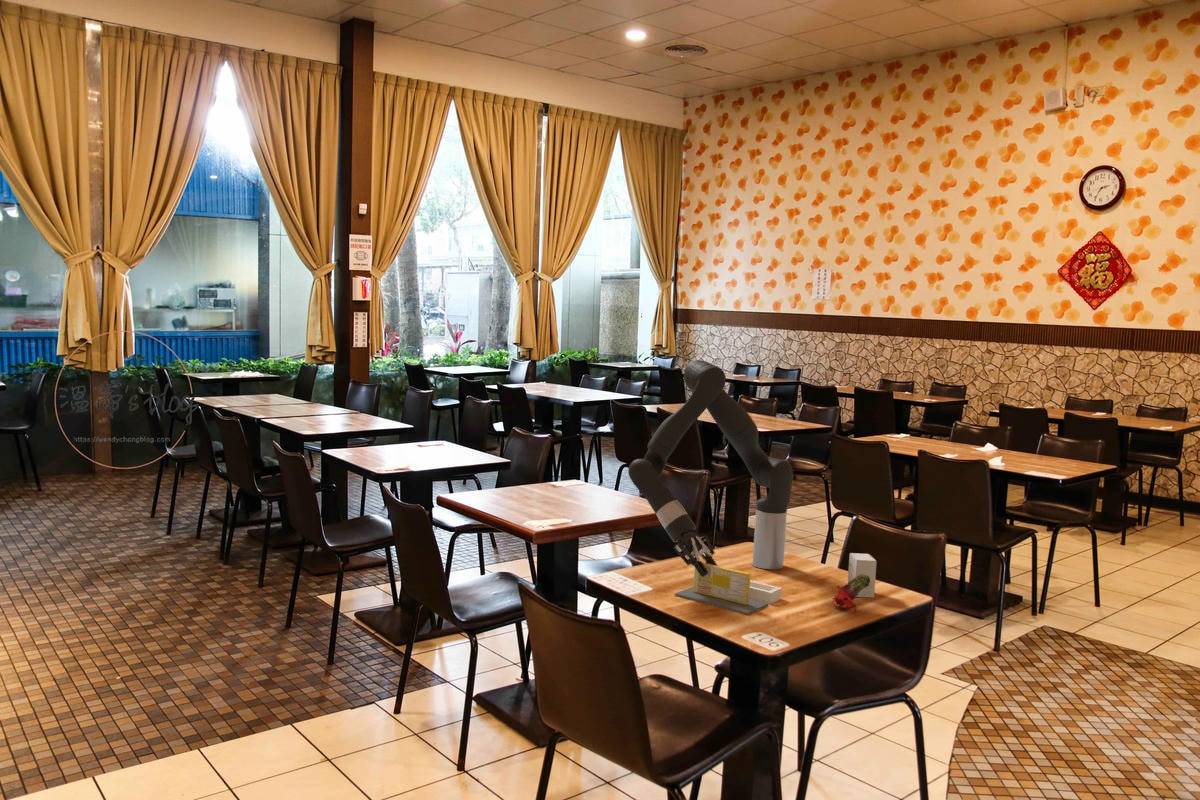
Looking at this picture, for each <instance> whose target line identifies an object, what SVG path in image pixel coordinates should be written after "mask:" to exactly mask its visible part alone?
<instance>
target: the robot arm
mask: <svg viewBox="0 0 1200 800" xmlns="http://www.w3.org/2000/svg"><path fill="white" fill-rule="evenodd" d="M683 379H684V380H683V381H684V382H685V386H686V387H687V388H688V389H689V390H690V391H691V392H692V393H691V395H690V396H689V398H688V399H687V400H686V402H685V403H684V404H683V405H682V406H681V407H680V408H679V409H677V410H676V411H675V412H673V413H672V414H671V415H670V416H668V417H667V418H665V420H664V421H663V422H661V424H660V425H659V427H658V428H657V429H656V431H655V433H653V435H652V437H651V438H650V439H649V441H648V443H647V451H646V453H645V455H644V457H643V458H637V459H634V460H633V461H632V462H631V463H630V464H629V466H628V476H629V478H630V480H631V482H632V484H633V485H634V486H635V487H636V488H637V490H638V491H639V492H640V493H641V495H642V496H643V497H644V498H645V500H647V503H648V505H650V507H651V509H652V510H653V511H654V513H655V514H656V516H657V518H658V521H659V522H660V524H661V525H662V527H663V528H664V530H665V531H666V533H667V535H668V536H669V538H670V539H671V540H672V542H673V543H677V544H676V545H675V546H674V547H673V550H674V551H675V553H676V554H678V556H679V557H680V558H681V559H682V560H683V562H684V563H685V564H686V565H687V566H689V565H691V566H693V567H694V569H695V568H696V569H697V571H698V572H699V574H700V575H701V576H702V577H704V576H705V575H707V574H708V571H707V569H706V568H705V566H704V565H703V563H707V564H711V565H716V566H719V565H718V564H717V563H716V561H715V560H714V558H713V555H715V553H716V552H715V551H714V549H713V546H712V544H711V542H710V540H709V538H708V537H707V535H705V534H704V535H703V536H700V535H698V533H697V532H696V528H697V526H696V524H695V522H693V519H692V518H691V517H690V515H689V513H688V512H687V511H686V510H685V508H684V506H683V505H682V504H681V503H680V501H678V499H677V497H676V496H675V495H674V493H673V492H672V491H671V489H670V488H669V487H668V486H667V485H666V484H664V482H663V481H662V479H661V478H660V476H661V475H662V472H663V471H664V469H665V468H666V464H667V462H668V459H669V457H670V456H671V454H672V453H673V452H674V451H675V449H676V448H677V446H678V445H679V443H680V441H681V439H682V438H683V437H684V435H686V433H687V432H688V430H689V429H690V428H691V427H692V425H693V424H695V423H694V422H696V421H697V420H698V418H699V417H700V416H701V415H702V414H703V413H704V412H705V410H706V409H707V411H708V413H709V414H710V417H712V419H713V421H714V422H715V424H716V425H717V426H718V428H719V429H720V430H721V433H723V435H724V436H725V438H726V439H727V440H728V441H729V443H730V444H731V445H732V447H733V448H734V450H735V451H736V452H737V454H738V455H739V456H740V458H741V459H742V461H743V462H744V464H745V466H746V468H747V469H748V471H749V473H750V475H751V476H752V478H753V480H754V482H755V483H757V484H758V485H760V486H761V487H764V488H768V490H769V491H768V495H767V496H766V497H762V498H759V499H758V500H756V506H755V521H754V535H753V550H752V551H753V552H752V563H751V564H752V566H754V567H755V568H760V569H764V570H781V569H783V568H784V561H785V560H784V559H785V546H786V545H785V543H786V529H787V514H788V506H789V504H790V500H791V496H792V495H791V493H792V486H793V476H794V471H793V467H792V465H791V463H790V462H789V461H788V460H786V459H785V460H784V459H781V458H777V457H776V458H775V457H772V456H769V455H768V454H766V452H765V451H764V450H763V449H762V447H761V446H760V444H759V429H758V426H757V424H756V423H755V421H754V420H753V418H752V417H751V415H750V414H749V413H748V412H747V411H746V409H745V408H744V407H743V406H742V405H741V404H739V402H737V401H736V399H734V398H733V397H732V396H731V395H730V394H729V393H728V392H726V390H725V389H724V388H725V386H726V381H727V378H726V372H724V370H723V369H722V368H720V367H719V366H716V364H712V363H711V362H708V361H706V360H702V359H701V360H700V359H695V360H692V361H690V362H689V363H688V364H687V365H686V366H685V368H684V372H683ZM700 557H701V558H700ZM701 559H702V560H703V561H704V562H703V563H702V560H701Z"/></svg>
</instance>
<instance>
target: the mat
mask: <svg viewBox="0 0 1200 800" xmlns="http://www.w3.org/2000/svg"><path fill="white" fill-rule="evenodd" d="M674 596H675V597H679V598H682V599H686V600H691V601H694V602H697V603H701V604H705V605H709V606H713V607H715V608H720V609H724V610H727V611H731V612H735V613H739V614H741V615H742V614H743V615H745V616H748V615H752V614H753V613H756V612H758V611H759V610H763V609H765V608H766V607H768V606H769V604H768V603H765V602H761V601H757V600H753V599H749V600H748V604H747V605H743V604H739V603H735V602H731V601H727V600H724V599H720V598H716V597H712V596H708V595H704V594H700V593H696V592H693V586H691V587H689V588H687V589H683V590H680V591H678V592H675V593H674Z"/></svg>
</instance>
